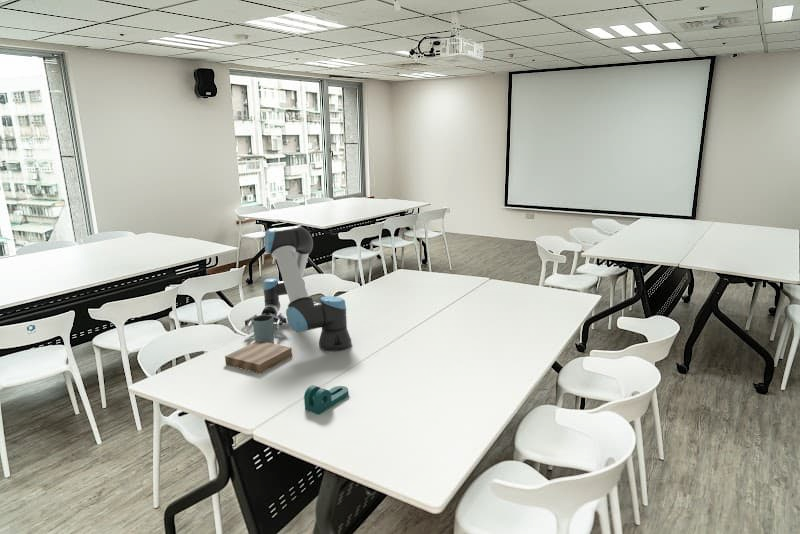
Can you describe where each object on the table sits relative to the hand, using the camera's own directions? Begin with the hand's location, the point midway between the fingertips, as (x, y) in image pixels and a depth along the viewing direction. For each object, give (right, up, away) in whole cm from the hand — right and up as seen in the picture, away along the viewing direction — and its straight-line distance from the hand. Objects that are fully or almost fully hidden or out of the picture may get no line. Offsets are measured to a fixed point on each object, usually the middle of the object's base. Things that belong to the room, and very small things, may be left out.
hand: (263, 327), depth 243 cm
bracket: (+40, -21, -58) cm, 73 cm away
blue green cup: (0, -7, +1) cm, 7 cm away
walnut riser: (+4, -12, -21) cm, 24 cm away
